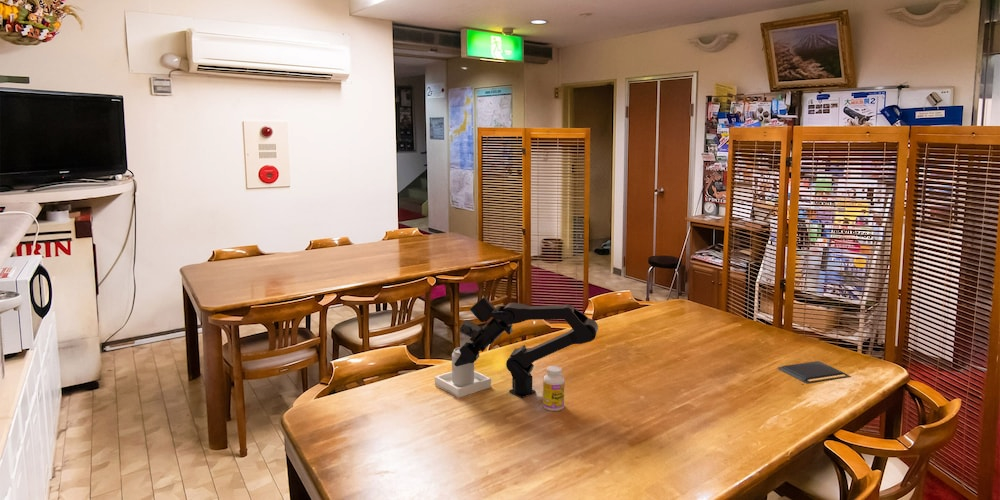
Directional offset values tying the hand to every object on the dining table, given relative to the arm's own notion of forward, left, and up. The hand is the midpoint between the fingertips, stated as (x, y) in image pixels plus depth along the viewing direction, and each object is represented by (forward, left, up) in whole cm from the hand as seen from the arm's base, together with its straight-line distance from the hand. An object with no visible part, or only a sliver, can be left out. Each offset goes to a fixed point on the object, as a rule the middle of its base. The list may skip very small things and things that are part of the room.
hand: (459, 360), depth 207 cm
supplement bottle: (-32, -13, -9) cm, 36 cm away
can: (-1, -1, -8) cm, 8 cm away
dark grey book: (-72, -104, -10) cm, 126 cm away
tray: (-1, -1, -9) cm, 9 cm away
